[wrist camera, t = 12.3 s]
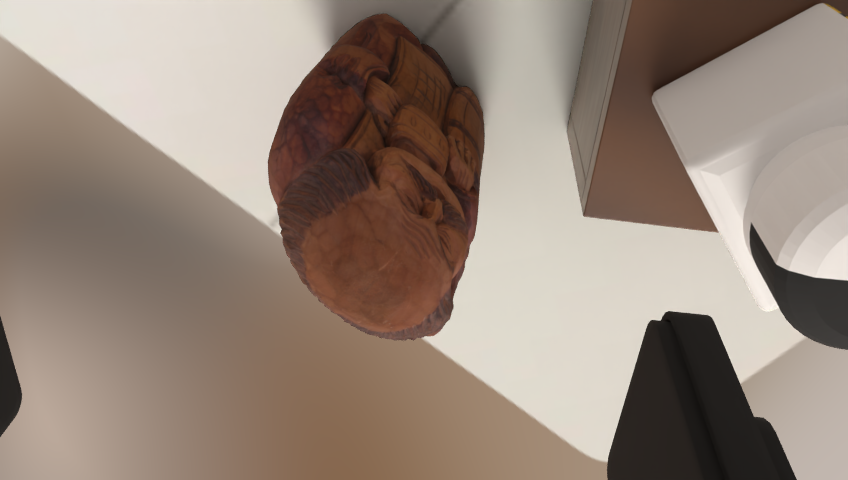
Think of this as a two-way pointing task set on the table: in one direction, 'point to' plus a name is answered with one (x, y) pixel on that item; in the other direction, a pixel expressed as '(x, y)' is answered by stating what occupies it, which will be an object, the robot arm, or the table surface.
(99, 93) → the table surface
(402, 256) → the wooden figurine
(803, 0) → the walnut shelf
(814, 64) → the medicine bottle
